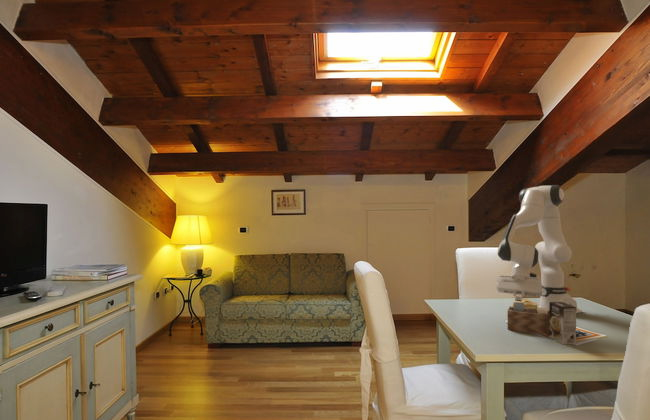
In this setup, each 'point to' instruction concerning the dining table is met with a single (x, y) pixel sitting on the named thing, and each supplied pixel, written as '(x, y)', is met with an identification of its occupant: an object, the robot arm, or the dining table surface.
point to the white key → (542, 310)
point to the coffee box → (562, 322)
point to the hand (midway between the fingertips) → (518, 300)
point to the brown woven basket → (528, 321)
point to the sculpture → (528, 304)
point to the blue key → (518, 306)
